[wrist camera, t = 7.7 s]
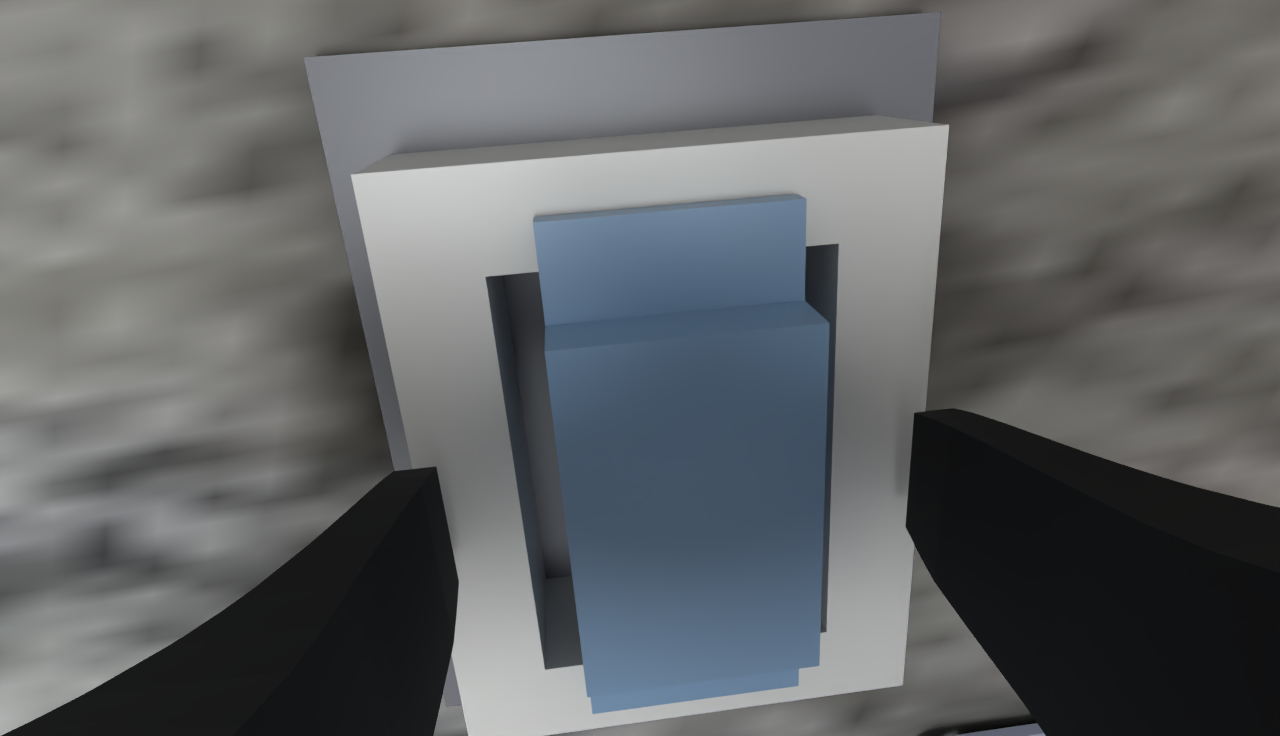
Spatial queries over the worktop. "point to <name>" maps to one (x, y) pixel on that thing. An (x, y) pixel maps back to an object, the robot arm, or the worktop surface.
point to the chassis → (624, 179)
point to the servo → (688, 444)
